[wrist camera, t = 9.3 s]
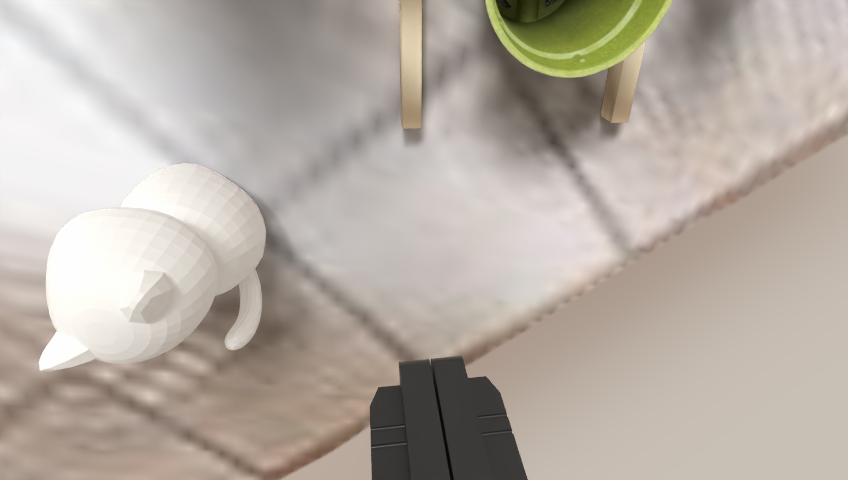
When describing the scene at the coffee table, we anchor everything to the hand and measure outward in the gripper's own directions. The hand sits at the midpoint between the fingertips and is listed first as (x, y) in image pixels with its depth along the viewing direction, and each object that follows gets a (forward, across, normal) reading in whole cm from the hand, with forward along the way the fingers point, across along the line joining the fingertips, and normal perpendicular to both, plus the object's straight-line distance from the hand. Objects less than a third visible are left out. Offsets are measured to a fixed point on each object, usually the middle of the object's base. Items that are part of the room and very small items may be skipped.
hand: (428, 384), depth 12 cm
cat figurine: (+25, +13, +8) cm, 29 cm away
